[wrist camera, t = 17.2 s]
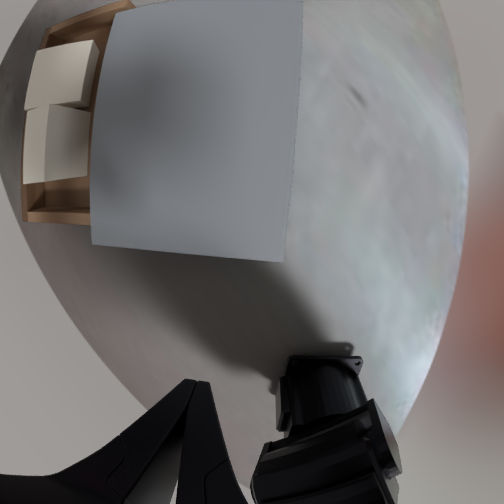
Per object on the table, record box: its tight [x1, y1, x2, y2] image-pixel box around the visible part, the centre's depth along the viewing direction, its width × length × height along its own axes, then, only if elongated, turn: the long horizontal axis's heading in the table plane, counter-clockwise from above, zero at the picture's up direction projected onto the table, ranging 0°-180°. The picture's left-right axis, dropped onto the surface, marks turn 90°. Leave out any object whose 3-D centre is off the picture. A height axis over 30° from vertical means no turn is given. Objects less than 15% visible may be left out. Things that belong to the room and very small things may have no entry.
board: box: [90, 0, 303, 263], centre depth 15 cm, size 12×16×4 cm
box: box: [21, 0, 136, 225], centre depth 15 cm, size 9×17×3 cm, turn 175°
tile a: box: [24, 40, 99, 111], centre depth 13 cm, size 5×5×2 cm
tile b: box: [23, 104, 91, 184], centre depth 14 cm, size 5×5×2 cm
